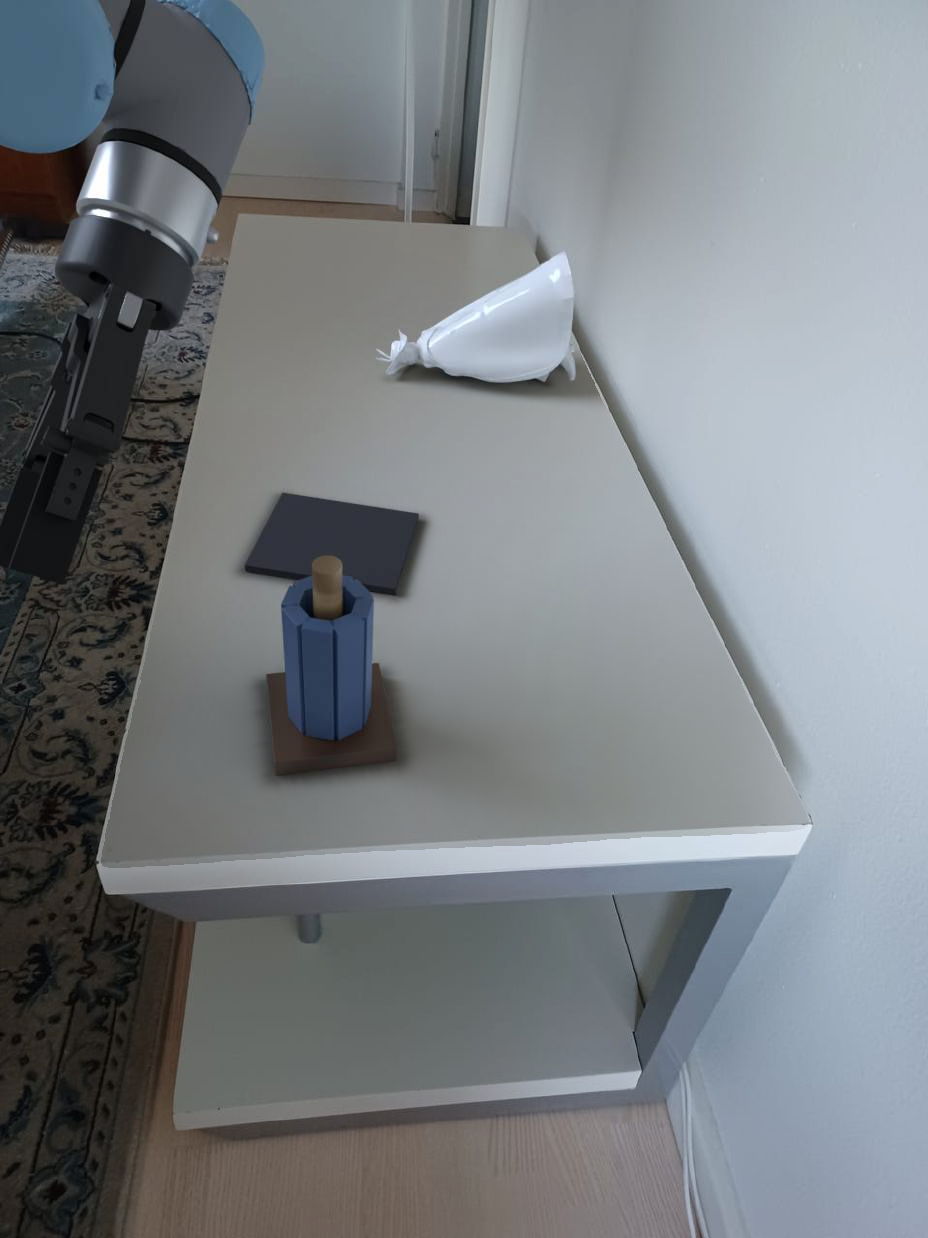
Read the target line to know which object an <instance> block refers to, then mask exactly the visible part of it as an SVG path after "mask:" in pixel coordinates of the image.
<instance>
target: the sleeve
mask: <svg viewBox="0 0 928 1238" xmlns="http://www.w3.org/2000/svg"><path fill="white" fill-rule="evenodd" d="M342 584H343V616H342V617H340V618H338V619H335V620H333V621H329V620H323V619H316V618H314V616H313V586H312V576H309V577H307V578H304V579H301V580H296V581H294V582H292V585H289V586H288V588H287V590H286V592H285V594H284V597H283V599H282V600H281V603H280V612H281V627H282V641H283V642H282V643H283V659H284V672H285V676H286V691H287V706H288V716H289V718H290V719H291V720H292V722H293V723H294V724H295V726H296V727H297V728H298V729H299V731H300V732H301V733H302V734H303V733H305V732H306V736H308V737H314V738H320V739H326V740H332V741H333V740H334V738H335V737H336V738H337V739H338V740H340V739H342V738H344V737H346V736H348V735H350V734H352V733H354V732H356V731H359V730H361V729H362V725H364V726H365V725H366V721H367V718H368V714H369V711H370V708H371V689H372V663H373V653H374V651H373V649H374V648H373V646H374V645H373V644H374V615H375V614H374V613H375V612H374V611H375V609H374V608H375V599H374V598H373V597H374V596H373V594H372V593H371V591H368V590H367V589H366V588H365V587H364V586H363V585H362V584H361V583H360V582H359V581H358V580H357V579H356V580H353V577H350V576H343V575H342Z"/></svg>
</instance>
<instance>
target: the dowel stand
mask: <svg viewBox="0 0 928 1238" xmlns="http://www.w3.org/2000/svg"><path fill="white" fill-rule="evenodd" d="M312 586H313V616H314V618H316V619H323V620H329V621H333V620H335V619H338V618H340V617H342V616H343V584H342V562H341V561H340V560H339V559H338V558H337V557H334V556H329V555H325V556H320V557H318V558H316V559H315V560H314V561H313V563H312ZM265 679H266V691H267V701H268V712H269V721H270V722H269V723H270V731H271V732H270V734H271V743H272V753H273V763H274V774H275V775H276V776H281V775H289V774H297V773H305V772H312V771H320V770H328V769H336V768H345V767H353V766H361V765H369V764H376V763H384V762H391V761H397V760H398V751H399V747H398V746H399V745H398V742H397V739H396V738H397V737H396V734H395V728H394V724H393V720H392V715H391V711H390V707H389V702H388V697H387V693H386V689H385V685H384V679H383V675H382V671H381V667H380V662H372V689H371V708H370V711H369V714H368V718H367V721H366V725H365V726H364V725H362V729H361V730H359V731H356V732H354V733H352V734H350V735H348V736H346V737H344V738H342V739H340V740H338V739H337V738H336V737H335V738H334V740H333V741H332V740H326V739H320V738H314V737H308V736H306V732H305V733H303V734H302V733H301V732H300V731H299V729H298V728H297V727H296V726H295V724H294V723H293V722H292V720H291V719H290V718H289V716H288V706H287V691H286V676H285V671H283V672H282V671H281V672H271V673H266V674H265Z"/></svg>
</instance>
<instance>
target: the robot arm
mask: <svg viewBox="0 0 928 1238" xmlns="http://www.w3.org/2000/svg"><path fill="white" fill-rule="evenodd" d="M265 52H266V51H265V47H264V44H263V41H262V37H261V36H260V34H259V32H258V30H257V28H256V26H255V25H254V24H253V22H252V21H251V19H250V18H249V17H248V15H247V14H246V13H245V12H244V11H243V10H241V8H239V7H238V6H237V4H235V3H234V2H233V1H232V0H0V146H2V147H5V148H7V149H11V150H14V151H18V152H23V153H28V154H49V153H50V154H51V153H56V152H60V151H63V150H66V149H68V148H71V147H74V146H76V145H78V144H79V143H81V142H82V141H84V140H85V139H87V138H88V137H89V136H90V135H91V134H92V133H93V132H94V131H95V130H96V129H97V128H98V126H99V125H100V124H101V122H102V123H103V124H104V129H103V132H102V136H101V139H100V141H99V144H98V145H97V147H96V149H95V152H94V155H93V157H92V160H91V163H90V165H89V168H88V171H87V172H86V176H85V178H84V181H83V184H82V186H81V190H80V192H79V196H78V197H77V200H76V203H75V208H76V209H75V210H76V213H77V215H78V217H75V218H73V219H72V220H71V221H70V223H69V226H68V229H67V231H66V235H65V238H64V240H63V242H62V246H61V248H60V250H59V253H58V256H57V260H56V262H55V265H54V273H55V277H56V279H57V281H58V282H59V284H60V285H61V286H62V287H63V288H64V290H66V291H67V292H68V293H69V294H70V295H71V296H73V297H75V298H78V299H80V300H81V302H83V304H85V306H86V307H87V311H86V312H85V313H86V314H85V315H82V314H80V313H78V312H77V313H75V315H74V317H73V320H72V321H69V322H68V323H67V326H66V329H65V330H64V333H63V335H62V338H61V344H60V350H61V351H60V353H59V356H58V358H57V360H56V363H55V365H54V367H53V370H52V374H51V377H50V387H49V390H48V392H47V394H46V396H45V399H44V401H43V404H42V407H41V409H40V412H39V414H38V417H37V420H36V422H35V424H34V426H33V429H32V431H31V434H30V436H29V439H28V441H27V444H26V446H25V448H23V449H22V451H21V454H20V456H21V457H20V459H21V461H20V463H21V467H20V468H19V469H18V473H17V475H16V478H15V481H14V484H13V487H12V489H11V492H10V494H9V498H8V500H7V502H6V506H5V509H4V511H3V514H2V518H1V520H0V567H2V568H6V569H9V570H13V571H16V572H18V573H22V574H25V575H29V576H33V577H36V578H39V579H43V580H46V581H49V582H51V583H56V584H59V585H63V586H64V584H65V581H66V578H67V575H68V572H69V569H70V567H71V564H72V561H73V558H74V556H75V553H76V550H77V546H78V544H79V541H80V539H81V535H82V532H83V529H84V527H85V523H86V521H87V519H88V515H89V512H90V510H91V507H92V504H93V501H94V499H95V495H96V492H97V489H98V487H99V484H100V481H101V478H102V475H103V472H104V470H102V469H103V468H104V467H105V466H106V464H107V463H109V462H110V459H111V456H112V454H114V455H115V453H116V452H117V451H118V450H119V449H121V446H122V443H123V439H122V436H123V433H124V432H123V431H124V428H125V425H126V422H127V421H126V420H127V416H128V412H129V409H130V404H131V400H132V397H133V392H134V389H135V384H136V380H137V376H138V372H139V368H140V365H141V360H142V356H143V351H144V347H145V344H146V340H147V336H148V333H149V330H150V331H159V332H161V331H169V330H173V329H174V328H176V327H177V326H178V325H179V324H180V323H181V320H182V316H183V314H184V311H185V308H186V305H187V302H188V299H189V297H190V294H191V290H192V288H193V285H194V281H195V276H194V273H193V271H192V269H195V268H197V267H198V265H199V264H200V261H201V258H202V255H203V253H204V250H205V247H206V244H207V243H208V244H210V245H215V244H217V243H218V240H219V237H220V232H219V230H217V229H215V228H214V227H213V226H211V223H212V222H213V221H214V220H215V218H216V215H217V211H218V209H219V206H220V204H221V201H222V197H223V194H224V191H225V189H226V186H227V183H228V181H229V179H230V177H231V176H230V175H231V172H232V170H233V167H234V165H235V162H236V160H237V157H238V154H239V151H240V149H241V146H242V144H243V141H244V138H245V135H246V133H247V130H248V127H249V126H250V125H251V124H252V122H253V119H254V115H255V107H256V104H257V100H258V97H259V92H260V89H261V85H262V82H263V75H264V73H265V72H264V71H265V66H266V53H265ZM96 466H97V467H96ZM98 467H100V468H102V469H99V468H98Z"/></svg>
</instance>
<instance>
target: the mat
mask: <svg viewBox="0 0 928 1238" xmlns="http://www.w3.org/2000/svg"><path fill="white" fill-rule="evenodd" d="M419 517H420V513H419V512H411V511H405V510H398V509H392V508H386V507H379V506H372V505H366V504H360V503H354V502H347V501H340V500H334V499H327V498H320V497H314V496H308V495H302V494H294V493H288V492H281V494H280V496H279V498H278V500H277V502H276V504H275V506H274V508H273V510H272V512H271V513H270V515H269V517H268V519H267V521H266V523H265V524H264V527H263V529H262V531H261V532H260V535H259V536H258V538H257V541H256V542H255V544H254V546H253V548H252V550H251V552H250V554H249V556H248V558H247V560H246V561H245V563H244V571H245V572H248V573H254V574H259V575H266V576H272V577H279V578H285V579H292V580H296V581H299V580H301V579H304V578H307V577H309V576H312V563H313V561H314V560H315V559H316V558H318V557H320V556H325V555H329V556H334V557H337V558H338V559H339V560H340V561H341V562H342V575H343V576H350V577H353V580H356V579H357V580H358V581H359V582H360V583H361V584H362V585H363V586H364V587H365V588H366V589H367V590H368V591H369V592H372V593H380V594H386V595H393V596H396V595H397V591H398V588H399V584H400V581H401V578H402V574H403V572H404V568H405V565H406V562H407V558H408V555H409V552H410V548H411V547H412V546H411V545H412V543H413V538H414V535H415V532H416V529H417V526H418V522H419V519H420V518H419Z"/></svg>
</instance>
